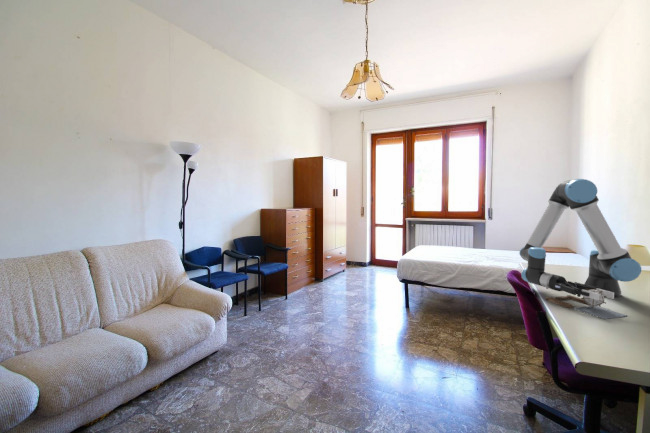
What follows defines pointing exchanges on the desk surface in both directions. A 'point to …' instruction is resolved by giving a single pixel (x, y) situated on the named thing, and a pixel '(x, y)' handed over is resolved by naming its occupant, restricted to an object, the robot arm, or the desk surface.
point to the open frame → (557, 299)
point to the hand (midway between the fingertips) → (606, 296)
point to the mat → (600, 312)
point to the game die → (593, 301)
